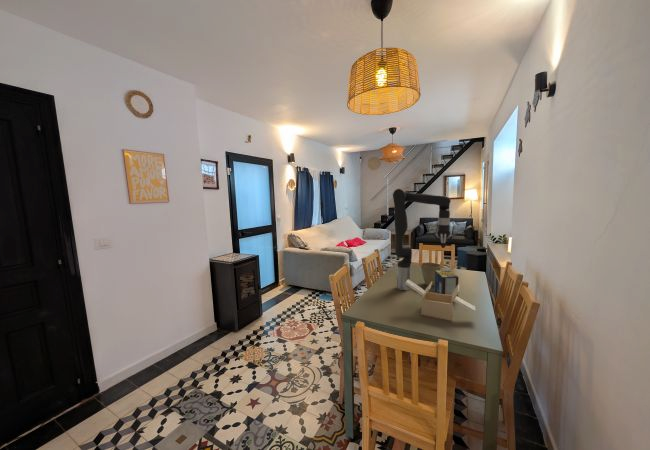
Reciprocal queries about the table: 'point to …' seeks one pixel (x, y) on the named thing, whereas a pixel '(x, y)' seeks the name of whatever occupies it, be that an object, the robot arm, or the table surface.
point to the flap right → (460, 301)
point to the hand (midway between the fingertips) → (443, 247)
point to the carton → (437, 306)
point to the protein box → (445, 282)
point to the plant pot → (429, 272)
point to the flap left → (417, 288)
